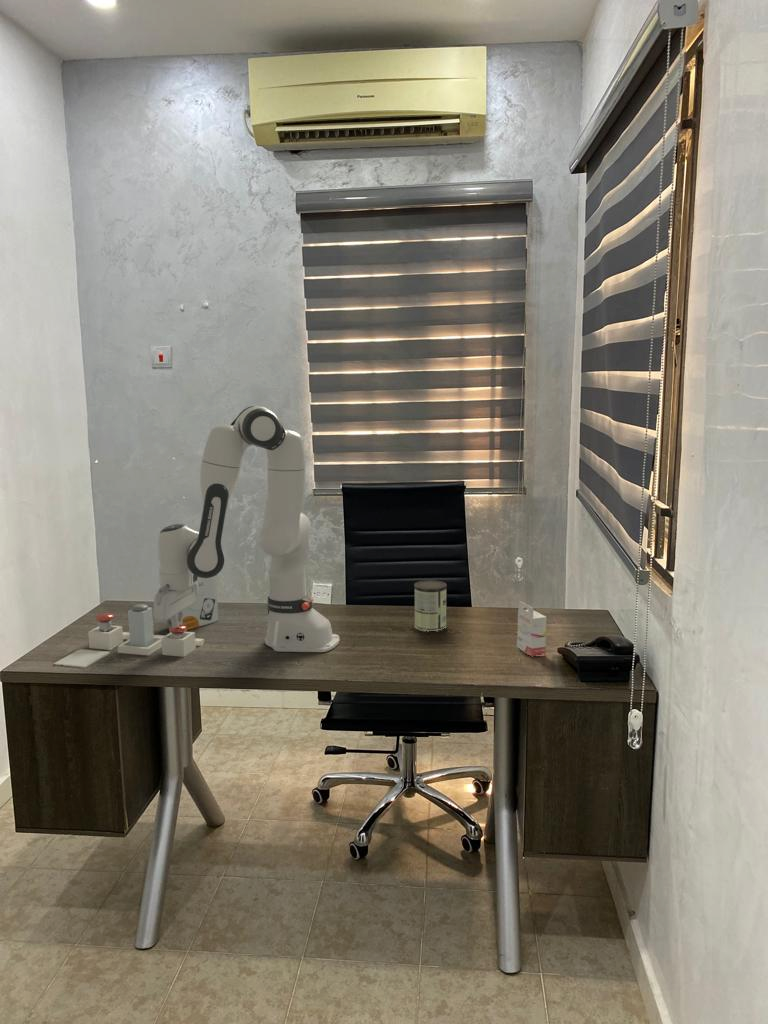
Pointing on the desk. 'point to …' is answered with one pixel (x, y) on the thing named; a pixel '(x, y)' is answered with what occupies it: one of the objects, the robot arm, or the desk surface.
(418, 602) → the coffee can
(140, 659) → the desk surface
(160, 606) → the robot arm
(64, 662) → the pad
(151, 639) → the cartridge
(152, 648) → the socket
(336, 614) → the desk surface
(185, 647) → the tower
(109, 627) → the plunger
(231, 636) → the desk surface
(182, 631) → the plunger
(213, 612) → the hard drive box
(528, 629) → the ink cartridge box
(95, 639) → the tower
